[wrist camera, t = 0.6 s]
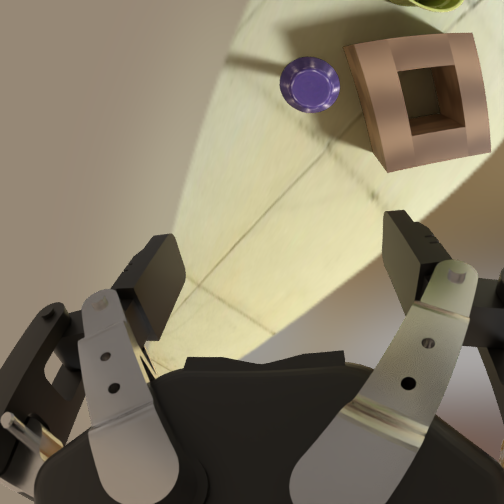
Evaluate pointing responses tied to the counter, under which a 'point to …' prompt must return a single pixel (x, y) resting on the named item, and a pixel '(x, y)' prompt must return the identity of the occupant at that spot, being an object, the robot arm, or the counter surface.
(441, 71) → the socket block
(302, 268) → the counter surface
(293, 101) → the toy lamp
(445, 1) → the plant pot
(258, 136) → the counter surface
